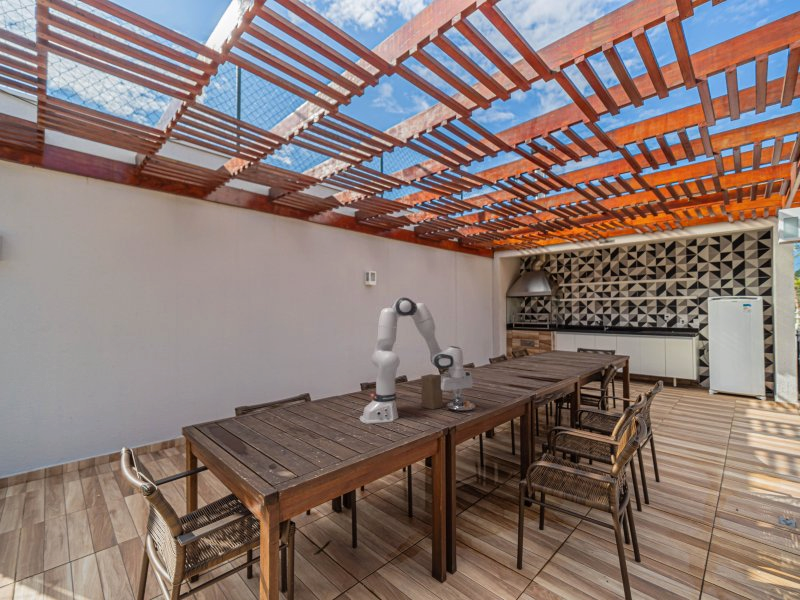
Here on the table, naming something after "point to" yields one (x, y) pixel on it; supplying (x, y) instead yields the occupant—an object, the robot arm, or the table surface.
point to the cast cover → (459, 401)
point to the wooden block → (431, 391)
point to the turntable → (467, 406)
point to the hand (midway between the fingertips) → (457, 396)
